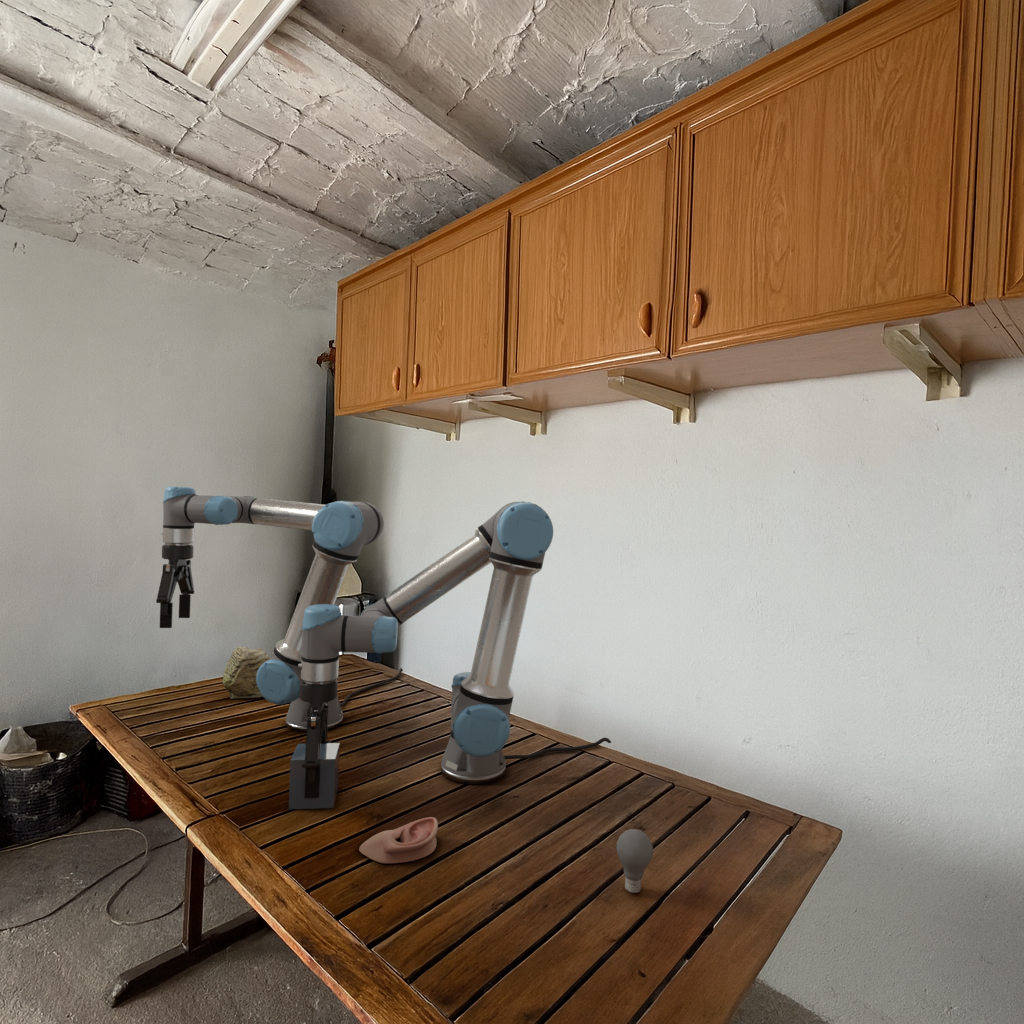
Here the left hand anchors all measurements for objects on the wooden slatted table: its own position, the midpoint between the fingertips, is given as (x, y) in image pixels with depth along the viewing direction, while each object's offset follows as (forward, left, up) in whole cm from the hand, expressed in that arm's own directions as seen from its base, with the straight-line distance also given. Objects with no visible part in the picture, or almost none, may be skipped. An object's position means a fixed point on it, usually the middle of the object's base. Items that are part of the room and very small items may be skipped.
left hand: (175, 622), depth 171 cm
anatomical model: (-1, +91, -27) cm, 95 cm away
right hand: (-2, +64, -25) cm, 68 cm away
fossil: (-28, -8, -27) cm, 40 cm away
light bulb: (-19, +129, -27) cm, 133 cm away
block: (-2, +64, -27) cm, 69 cm away
